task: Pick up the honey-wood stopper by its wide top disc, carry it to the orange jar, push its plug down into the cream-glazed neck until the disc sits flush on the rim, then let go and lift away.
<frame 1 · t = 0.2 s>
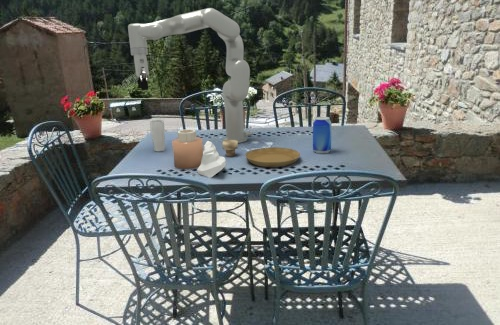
hand: (143, 88, 201), 31 cm above the table, tool pointing down, fingers open, 9 cm apart
beer can: (321, 152, 199), on the table
plant saucer: (272, 161, 189), on the table
stopper: (230, 155, 199), on the table
soft serve ice cream: (212, 173, 176), on the table
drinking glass: (159, 150, 212), on the table
orange jar: (189, 164, 188), on the table
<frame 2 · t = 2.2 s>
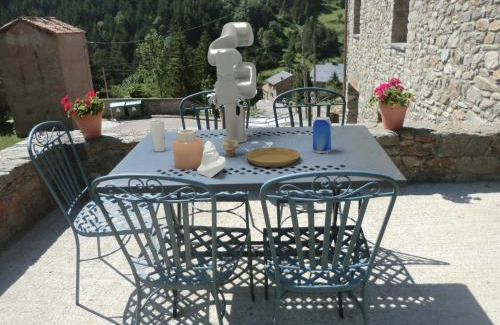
hand: (227, 116, 194), 18 cm above the table, tool pointing down, fingers open, 9 cm apart
nothing on the table moved.
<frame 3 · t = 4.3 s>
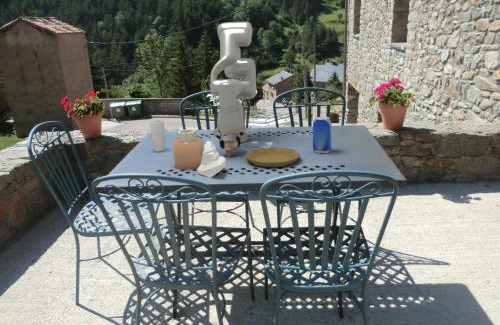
hand: (230, 146, 198), 4 cm above the table, tool pointing down, fingers closed on stopper, 7 cm apart
stopper: (230, 155, 199), on the table, touching gripper
everything else where it was.
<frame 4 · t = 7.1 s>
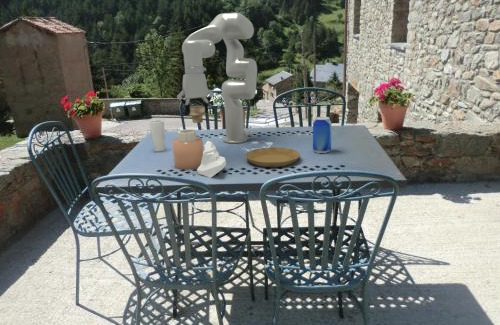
hand: (196, 112, 184), 22 cm above the table, tool pointing down, fingers closed on stopper, 7 cm apart
stopper: (197, 121, 185), point 18 cm above the table, touching gripper
everything else where it was.
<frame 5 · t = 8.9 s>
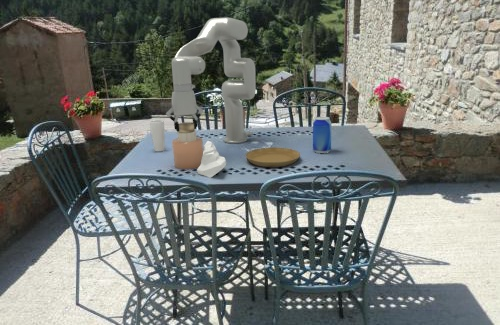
hand: (186, 129, 183), 16 cm above the table, tool pointing down, fingers closed on stopper, 7 cm apart
stopper: (187, 138, 184), point 12 cm above the table, touching gripper
everything else where it was.
when the fingers open (16 cm above the table, at t = 10.3 s): stopper stays where it is, resting on orange jar.
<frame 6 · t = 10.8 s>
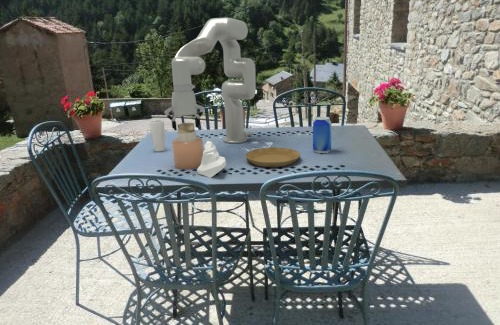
hand: (186, 128, 183), 16 cm above the table, tool pointing down, fingers open, 9 cm apart
stopper: (187, 139, 184), point 11 cm above the table, touching orange jar
everything else where it was.
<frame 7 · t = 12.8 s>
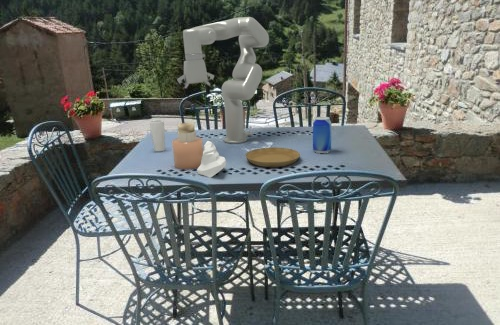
hand: (197, 95, 198), 28 cm above the table, tool pointing down, fingers open, 9 cm apart
nothing on the table moved.
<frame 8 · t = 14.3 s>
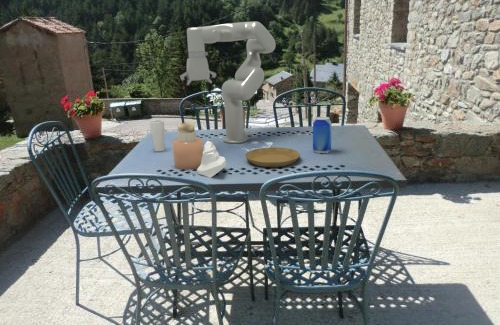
hand: (199, 92, 201), 28 cm above the table, tool pointing down, fingers open, 9 cm apart
nothing on the table moved.
at the end: stopper 0.0 cm off-centre on the orange jar, point 11.5 cm above the orange jar's base; stopper tilted 0°; the gripper is holding nothing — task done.
